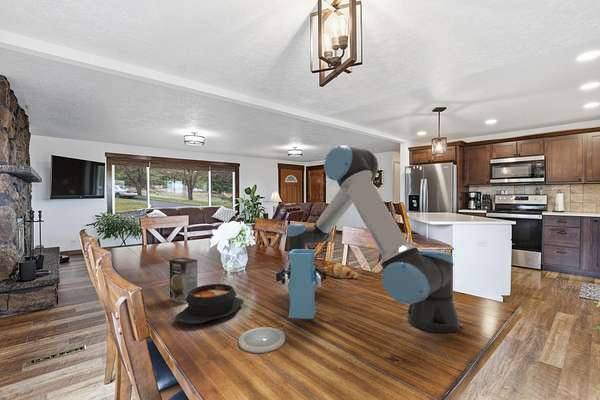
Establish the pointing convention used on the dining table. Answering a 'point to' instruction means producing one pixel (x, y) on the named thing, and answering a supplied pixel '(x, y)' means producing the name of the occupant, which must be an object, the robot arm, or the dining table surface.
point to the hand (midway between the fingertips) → (303, 283)
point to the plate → (261, 339)
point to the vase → (302, 284)
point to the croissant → (340, 271)
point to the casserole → (209, 303)
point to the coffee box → (182, 278)
